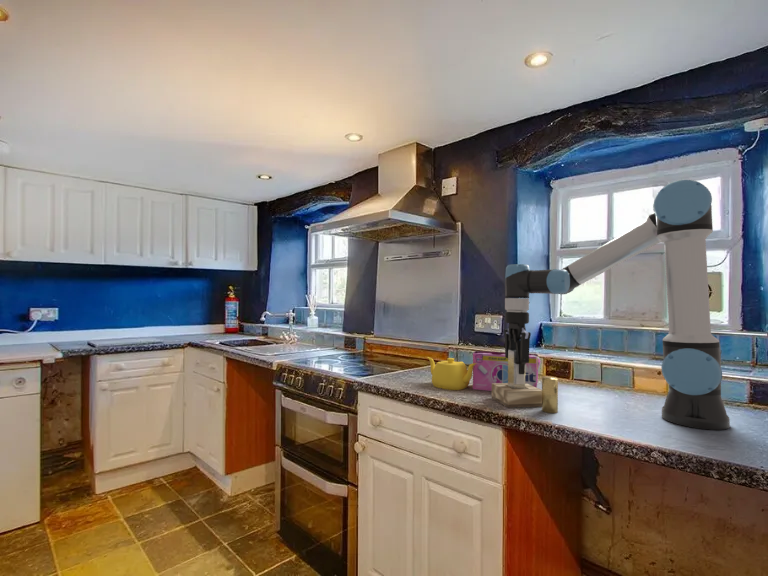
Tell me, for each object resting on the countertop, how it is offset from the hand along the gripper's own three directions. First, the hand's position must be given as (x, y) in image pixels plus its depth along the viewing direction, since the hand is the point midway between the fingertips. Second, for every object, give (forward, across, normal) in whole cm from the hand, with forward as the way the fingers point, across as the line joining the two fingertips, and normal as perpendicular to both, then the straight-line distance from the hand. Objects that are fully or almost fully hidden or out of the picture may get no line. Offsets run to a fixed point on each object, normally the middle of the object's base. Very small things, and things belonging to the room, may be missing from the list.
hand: (516, 382), depth 132 cm
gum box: (+7, +17, -4) cm, 19 cm away
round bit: (+7, -11, -5) cm, 14 cm away
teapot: (+7, +26, +13) cm, 30 cm away
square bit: (+2, 0, 0) cm, 2 cm away
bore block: (+7, 0, 0) cm, 7 cm away
